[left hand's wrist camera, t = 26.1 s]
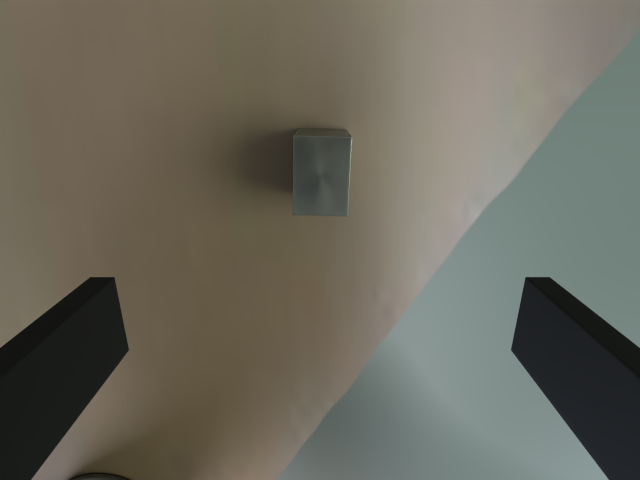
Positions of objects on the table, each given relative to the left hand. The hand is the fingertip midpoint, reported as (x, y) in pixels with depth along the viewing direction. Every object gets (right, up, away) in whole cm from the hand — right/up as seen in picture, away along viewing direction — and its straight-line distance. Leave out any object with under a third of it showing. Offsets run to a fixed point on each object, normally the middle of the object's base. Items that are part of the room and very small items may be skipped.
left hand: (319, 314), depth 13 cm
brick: (0, +10, +28) cm, 30 cm away
